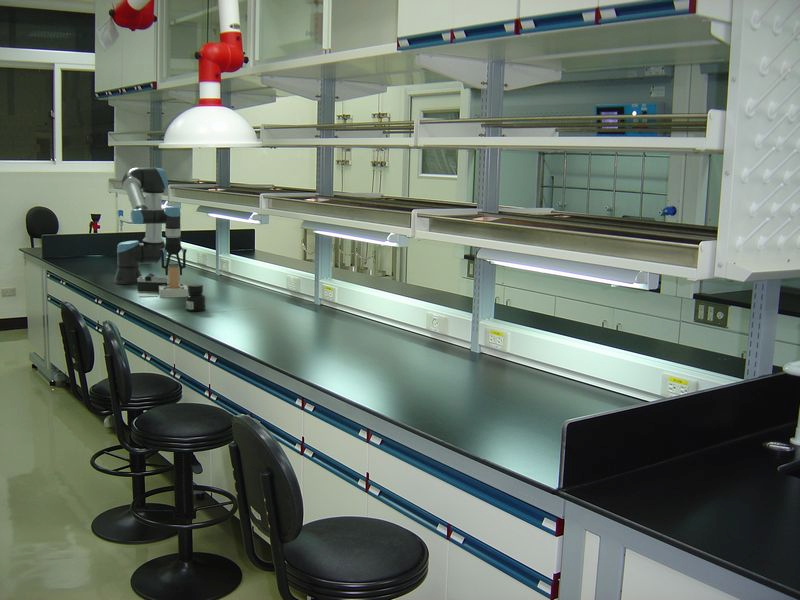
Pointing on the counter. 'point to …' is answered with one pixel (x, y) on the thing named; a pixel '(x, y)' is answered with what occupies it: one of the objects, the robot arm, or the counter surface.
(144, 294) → the mat
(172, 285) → the plug
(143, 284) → the camera
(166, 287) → the frame
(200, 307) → the ink bottle
